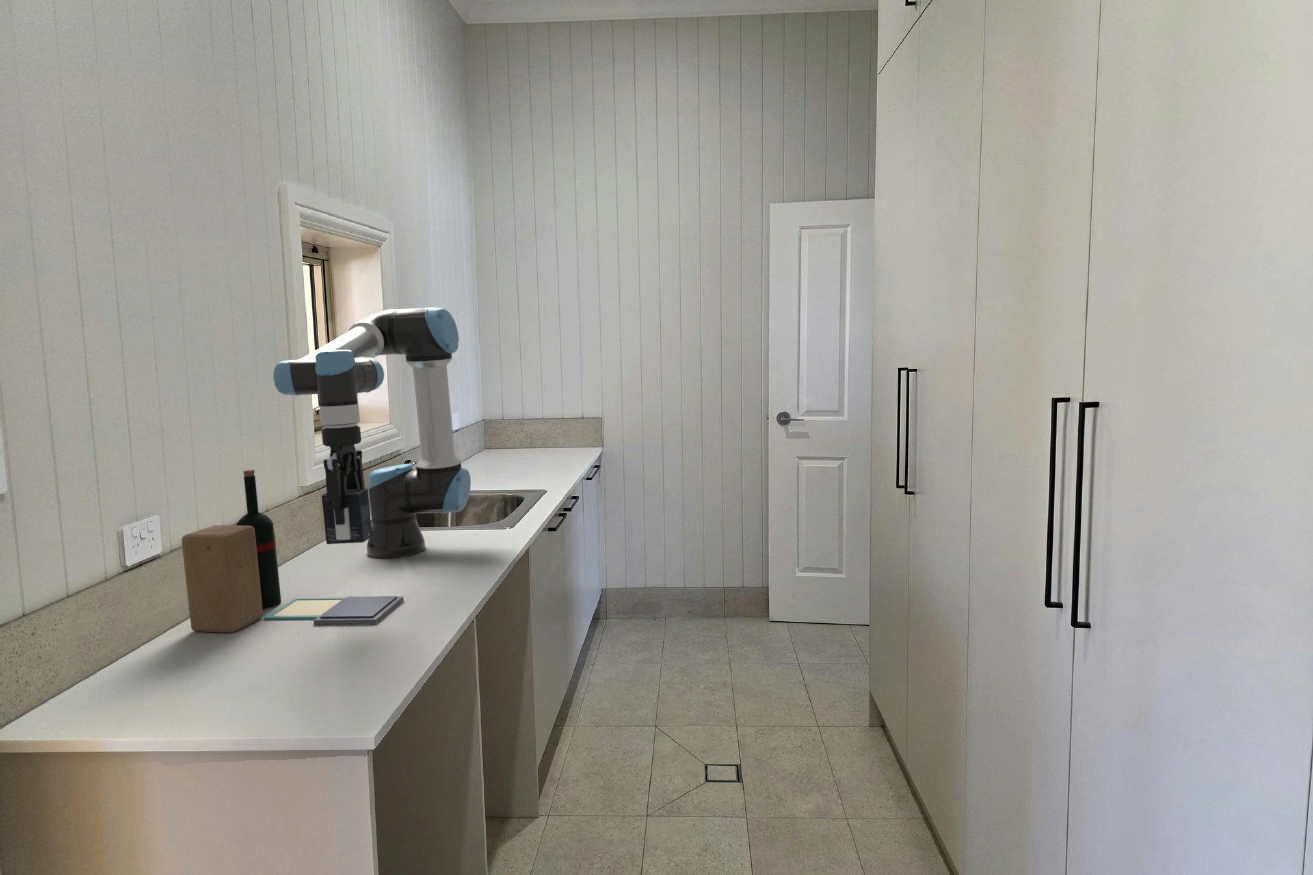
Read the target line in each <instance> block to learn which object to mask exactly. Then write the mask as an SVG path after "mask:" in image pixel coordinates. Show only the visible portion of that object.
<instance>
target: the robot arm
mask: <svg viewBox="0 0 1313 875" xmlns="http://www.w3.org/2000/svg"><path fill="white" fill-rule="evenodd" d="M459 341H460V337H459V332H458V326H457V325H456V321H455V319H454V317H453V315H452V313H450V312H449V311H448V310H447V309H445V308H442V307H430V306H429V307H421V308H404V309H403V308H402V309H401V308H400V309H397V308H396V309H394V308H392V309H386V310H383V311H380V312H377V313H375V314H371V315H369V316H368V317H365V318H363V319H361V320H359V321H357V322H356V323H354V324H352V325H351V326H350V327H349V329H348V331H347V332H346V333H345V334H343V335H341V336H339V337H337V338H336V339H334V340H332V341H330V342H328V343H326V344H325V345H323V346H322V347H319V348H318V349H315V350H314V351H312V352H310V353H309V354H306V355H305V356H304V357H303V356H302V358H300V359H295V360H294V359H289V360H282V361H279V362H278V363H277V364H276V365H275V367H274V370H273V376H272V377H273V378H272V379H273V382H274V387H275V388H276V390H277V391H278V392H279V393H280V394H281V395H286V396H287V395H290V396H291V395H292V396H293V395H294V396H303V395H305V396H306V395H318V400H319V401H318V404H319V410H318V414H319V415H320V424H321V425H322V426H324V427H322V429H321V439H322V445H323V446H324V447H329V448H330V453H329V459H328V458H327V459H323V462H322V463H323V466H324V471H325V473H324V474H325V486H326V489H325V490H326V493H327V504H328V508H329V509H334V517H335V528H336V539H337V540H349V539H351V534H350V523H349V511H348V508H346V489H366V488H365V487H366V486H365V479H364V478H365V476H364V470H363V468H364V466H363V451H362V449H361V450H360V449H359V450H358V449H357V450H356V446H355V445H358V444H360V443H361V442H362V433H361V426H360V425H359V423H360V422H361V417H360V408H359V399H358V394H362V393H371V392H372V391H375V390H377V389H379V388H380V387H381V385H382V384H383V381H384V378H385V372H384V368H383V365H381V363H380V362H379V361H378V360H376V359H374V358H377V357H378V356H385V355H386V356H387V355H405V362H406V363H407V364H408V365H409V366H410V367H411V368H412V370H413V371H412V374H413V382H414V393H415V406H416V414H417V415H416V416H417V426H418V436H419V438H418V439H419V447H420V456H421V458H420V460H418V462H417V463H416V465H415V467H416V468H415V469H414V466H413V464H412V463H403V464H397V465H391V466H386V467H382V468H377V469H375V470H373V471H371V472H370V473H369V475H368V487H367V489H368V498H369V508H370V519H371V529H372V537H371V538H369V539H368V540H367V544H366V555H367V556H368V557H371V558H377V559H381V558H382V559H389V558H390V559H391V558H401V557H407V556H411V555H415V554H418V553H420V552H423V551H424V550H426V542H425V538H424V535H423V533H422V530H421V528H420V526H419V524H418V521H417V514H439V513H440V514H448V513H459V512H461V511H462V510H463V509H464V508H465V506H466V505H467V502H468V500H469V497H470V494H471V484H472V483H471V474H470V471H469V469H467V468H465V467H463V468H462V461H461V460H460V459H459V458H458V457H457V456H456V455H455V445H454V434H453V433H454V431H453V424H452V422H453V421H452V410H451V409H452V408H451V402H450V389H449V377H448V375H449V374H448V365H449V364H450V362H452V360H453V356H452V354H453V353H455V352H457V350H458V348H459Z"/></svg>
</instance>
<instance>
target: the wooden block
mask: <svg viewBox="0 0 1313 875" xmlns="http://www.w3.org/2000/svg"><path fill="white" fill-rule="evenodd" d="M181 548H182V557H183V564H184V574H185V582H186V584H185V585H186V592H187V593H186V594H187V602H188V612H189V620H190V629H192V630H191V631H193V632H203V633H204V632H205V633H209V632H210V633H231V634H233V633H235V632H237V631H239V630H240V629H242V628H245V627H246V626H248V625H250V624H252V623H254V622H256V621H258V620H260V619H262V618H263V615H264V612H263V611H264V610H263V609H262V599H261V589H260V579H259V568H258V558H257V548H256V538H255V529H254V527H252V526H241V525H236V524H235V525H232V524H231V525H227V524H226V525H224V524H222V525H221V524H220V525H218V524H215V525H212V526H208V527H205V528H203V529H199V530H196V531H193V532H190V533H186V534H184V535H183V536H182V538H181Z"/></svg>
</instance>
